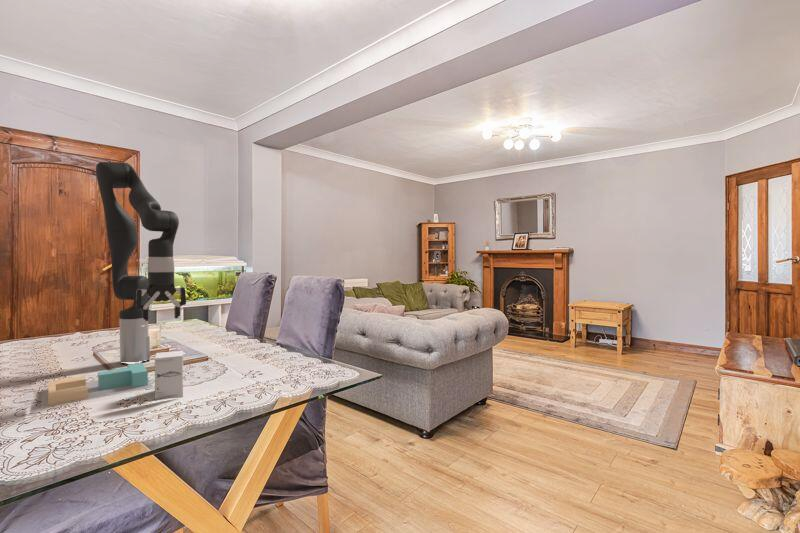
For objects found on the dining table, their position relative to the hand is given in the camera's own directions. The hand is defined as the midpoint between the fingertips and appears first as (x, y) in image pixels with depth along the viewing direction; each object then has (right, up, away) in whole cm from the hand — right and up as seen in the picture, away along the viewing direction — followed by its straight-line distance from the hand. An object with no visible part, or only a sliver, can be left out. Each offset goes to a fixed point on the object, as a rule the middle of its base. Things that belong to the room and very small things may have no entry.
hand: (161, 319), depth 133 cm
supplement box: (+10, -21, -13) cm, 27 cm away
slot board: (-13, -21, -10) cm, 27 cm away
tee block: (-9, -20, -6) cm, 22 cm away
